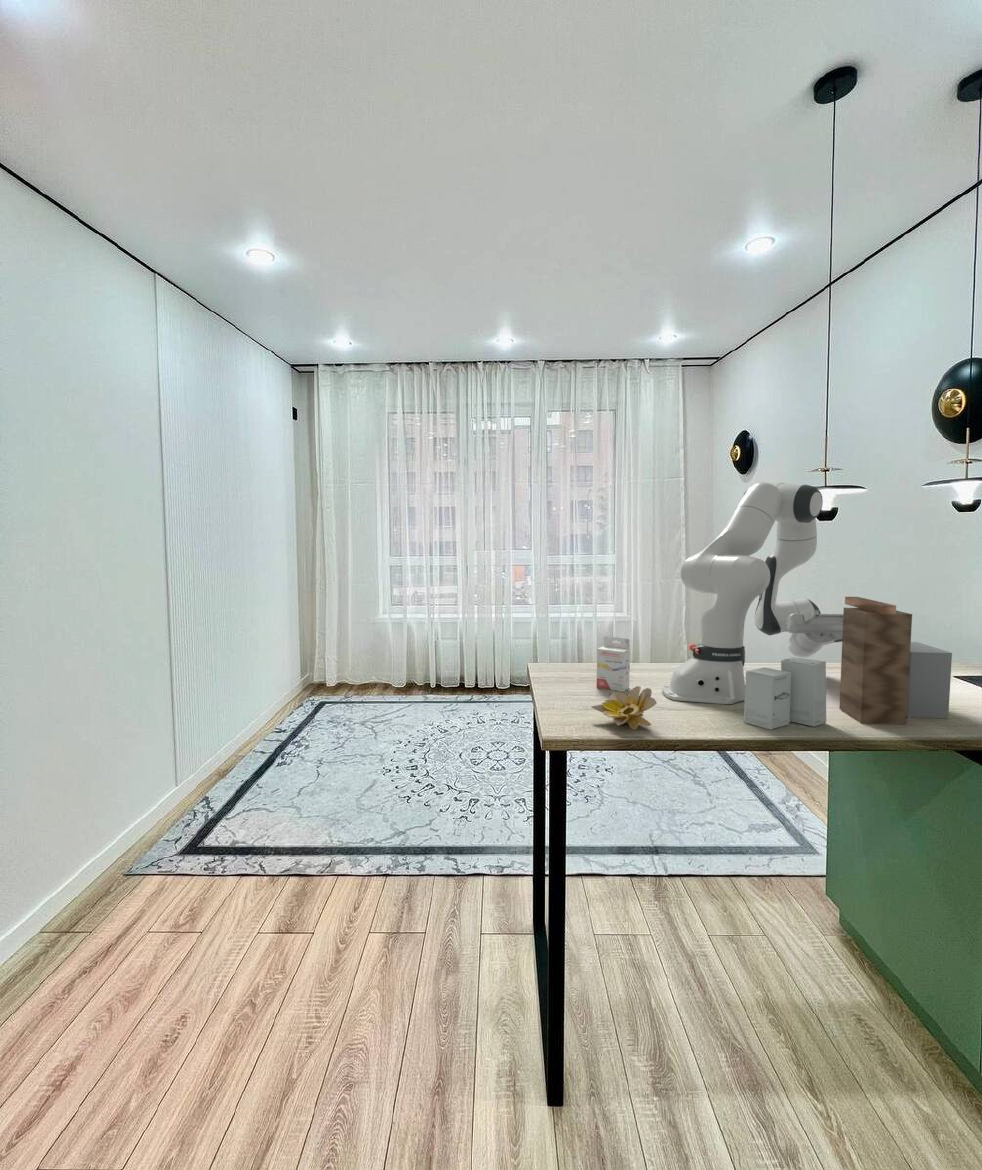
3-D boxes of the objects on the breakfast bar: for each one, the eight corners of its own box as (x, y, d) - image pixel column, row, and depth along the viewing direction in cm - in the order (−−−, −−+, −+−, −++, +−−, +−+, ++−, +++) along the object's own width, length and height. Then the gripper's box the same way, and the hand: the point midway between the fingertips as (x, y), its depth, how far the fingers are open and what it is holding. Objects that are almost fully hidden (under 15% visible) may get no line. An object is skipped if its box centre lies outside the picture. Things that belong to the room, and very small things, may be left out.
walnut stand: (860, 723, 147) (865, 613, 145) (839, 708, 159) (843, 607, 157) (906, 724, 145) (912, 614, 143) (881, 710, 157) (886, 608, 155)
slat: (881, 613, 144) (882, 605, 144) (844, 604, 164) (845, 596, 164) (895, 614, 144) (896, 605, 144) (857, 604, 164) (857, 596, 163)
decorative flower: (582, 709, 153) (592, 670, 152) (622, 715, 157) (632, 678, 156) (610, 732, 139) (622, 689, 138) (653, 738, 142) (665, 697, 142)
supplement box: (771, 730, 142) (773, 676, 141) (742, 722, 148) (744, 670, 147) (790, 725, 146) (792, 672, 145) (762, 717, 152) (763, 666, 151)
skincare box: (826, 723, 147) (829, 661, 145) (812, 728, 143) (815, 664, 142) (792, 715, 154) (794, 655, 152) (778, 719, 150) (780, 658, 149)
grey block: (908, 717, 151) (911, 652, 150) (877, 700, 167) (880, 641, 165) (948, 718, 150) (952, 652, 149) (913, 701, 166) (916, 641, 164)
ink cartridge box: (595, 688, 181) (596, 638, 180) (602, 684, 186) (602, 635, 184) (623, 692, 177) (624, 640, 176) (630, 688, 181) (630, 638, 180)
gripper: (778, 620, 189) (793, 602, 177) (850, 621, 187) (870, 602, 174) (781, 640, 187) (796, 623, 174) (854, 640, 184) (874, 623, 172)
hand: (834, 612), depth 174 cm, fingers open, 8 cm apart
